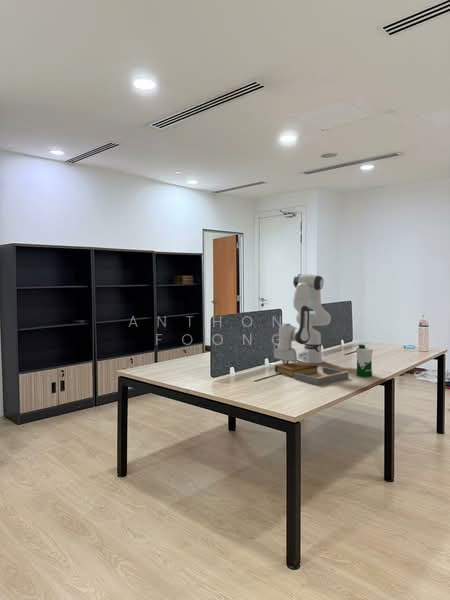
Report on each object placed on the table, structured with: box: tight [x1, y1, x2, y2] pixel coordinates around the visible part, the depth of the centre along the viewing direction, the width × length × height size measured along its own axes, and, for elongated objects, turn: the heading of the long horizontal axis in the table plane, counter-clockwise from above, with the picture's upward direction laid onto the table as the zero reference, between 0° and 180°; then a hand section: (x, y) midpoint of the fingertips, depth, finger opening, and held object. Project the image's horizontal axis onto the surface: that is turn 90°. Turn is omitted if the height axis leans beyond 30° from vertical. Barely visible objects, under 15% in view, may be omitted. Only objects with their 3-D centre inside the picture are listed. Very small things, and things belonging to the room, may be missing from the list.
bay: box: [293, 366, 350, 386], centre depth 268 cm, size 20×28×5 cm
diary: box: [274, 361, 320, 378], centre depth 286 cm, size 23×19×6 cm
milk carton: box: [355, 344, 374, 378], centre depth 274 cm, size 9×9×20 cm
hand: (285, 366), depth 295 cm, fingers closed
